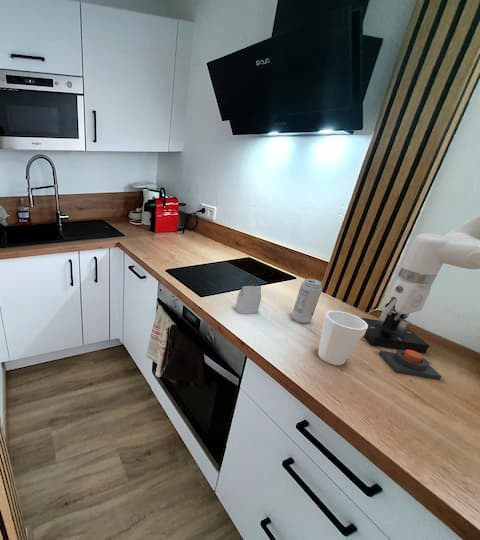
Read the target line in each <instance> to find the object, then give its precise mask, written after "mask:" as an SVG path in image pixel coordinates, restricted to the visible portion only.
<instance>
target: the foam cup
mask: <svg viewBox="0 0 480 540" xmlns="http://www.w3.org/2000/svg"><path fill="white" fill-rule="evenodd" d="M361 318H362V317H360V316H357V315H354V314H353V313H350V312H346V311H341V310H328V311H326V312H325V315H324V316H323V320H322V322H323V324H322V329H321V333H320V339H319V345H318V350H317V355H318V357H319V358H320V359H321V360H323V361H325V362H326V363H328V364H331V365H334V366H342V365H344V363H346V361H347V360H348V359H349V357H350V355H351V354H352V352H353V351H354V349H355V348H356V346H357V345H358V344H359V342H360V341H361V339H362V338H363V337H364V335H365V333H366V330H367V328H368V324H367V323H366V322H365V321H364V320H362V319H361Z"/></svg>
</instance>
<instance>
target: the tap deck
mask: <svg viewBox="0 0 480 540" xmlns="http://www.w3.org/2000/svg"><path fill="white" fill-rule="evenodd" d="M360 318H361V319H362V320H364V321H365V322H366V323H367V324H368V328H367V330H366V333H365V335H364V336H363V338H364V339H365V340H366V341H367V343H369V345H370V346H372V347H373V346H374V347H379V348H387V349H393V350H413V351H416V352H418V353H420V354H426V353H427V351H428V349H429V348H430V344H428V343H427V342H426V340H424V339H423V338H421V337H420V336H419V335H418V334H416V333H415V332H414V331H413V330H412V329H411V328H410V327H409V328H408V330H407V332H406V334H405V336H402V337H400V336H398V335H396V334H394V333H392V332H390V331H388V330H386V329H385V328H383V327H381V326H379V325H377V322H378V320H379V319H375V318H374V319H373V318H366V317H360Z"/></svg>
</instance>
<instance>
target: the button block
mask: <svg viewBox="0 0 480 540" xmlns="http://www.w3.org/2000/svg"><path fill="white" fill-rule="evenodd" d="M404 352H405V350H399V349H397V350H396V351H395V352H392V351H387V350H386V351H385V350H379V353H378V354H379V356H380V357H381V358H382V359H383V360H384V361H385V362H386V363H387V365H388V366H389V367H390V368H391V369H392V370H393V372H395V373H397V374H402V375H409V376H415V377H421V378H427V379H433V380H437V381H440V380H441V378H442V375H441V374H440V373H439V372H437V370H435V368H433V367H432V365H430V364H429V361H428V360H427V359H426V358H424V357H423V359H422V360H421V362H420V363H416V362H413V361H410V360H408V359H406V358H405V357H404V356H403V354H404Z"/></svg>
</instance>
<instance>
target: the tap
mask: <svg viewBox="0 0 480 540" xmlns="http://www.w3.org/2000/svg"><path fill="white" fill-rule="evenodd" d="M385 318H386V313H384V310H383V311H381V314H380V315H379V318H378V319H377V320H378V322H377V325H379V326H381V327H383V326H382V325H383V322H384V320H385ZM398 321H399V323H398V325H397V327H396V329H395V331H390V330H388V329H386V328H385V329H386V330H388V331H390V332H392V333H394V334H396V335H398V336H400V337H402V336H405V334H406V332H407V330H408V328H409V329H410V326H411V324H412V322H411V321H409V320H407V319H403V318H401V317H399V319H398ZM383 328H384V327H383Z"/></svg>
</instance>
